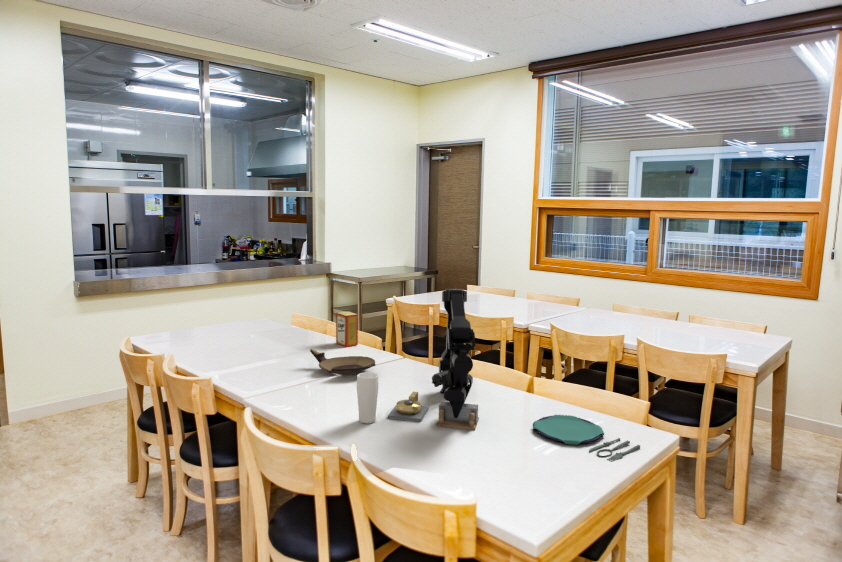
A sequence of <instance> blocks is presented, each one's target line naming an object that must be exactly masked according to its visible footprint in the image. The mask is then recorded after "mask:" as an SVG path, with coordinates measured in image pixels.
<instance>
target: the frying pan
mask: <svg viewBox="0 0 842 562" xmlns="http://www.w3.org/2000/svg"><path fill="white" fill-rule="evenodd" d="M309 351H310V353H311V354H312V356H313V357H314V358H315V359H316V360H317V362H318V363H319V364H318V367H319V368H320V369H321V370H324V371H325V372H328V373H331V374H334V375H340V376H349V375H350V376H351V375H354V374H355V375H356V374H360V373H362V372H364V371H366V370H368V369H370V368H372V367H375V366H376V365H377V364H376V360H375V359H373V358H372V357H370V356H369V357H368V356H360V355H352V356H351V355H349V356H338V357H331V358H326V357H325V352H322V351H321V352H318V351H317V350H315V349H313V348H310V349H309Z"/></svg>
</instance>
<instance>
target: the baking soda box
mask: <svg viewBox="0 0 842 562" xmlns="http://www.w3.org/2000/svg"><path fill="white" fill-rule="evenodd" d="M358 315H359V314H358V313H356V312H355V313H354V312H352V311H347V310H346V311H341V312H339V311H338V312H336V313H335V321H336V322H335V337H336V338H335V341H336V342H335V344H336V345H339V346H341V347H344V348H352V347H357V346H356V345H359V337H358V336H359V335H358V333H359V328H358V327H359V316H358Z"/></svg>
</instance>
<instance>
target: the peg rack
mask: <svg viewBox="0 0 842 562" xmlns="http://www.w3.org/2000/svg"><path fill="white" fill-rule="evenodd" d="M474 416H475V414H474V413H469V423H460V422H450V421H444V410H439V409H438V420H437V423H436V426H437V427H443V428H450V429H451V428H453V429H462V430H471V431H475V430H476V428H477V426H478V423H479V420H480V417H479V416H478V421H477V424H474Z"/></svg>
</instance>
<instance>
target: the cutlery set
mask: <svg viewBox="0 0 842 562" xmlns="http://www.w3.org/2000/svg"><path fill="white" fill-rule="evenodd" d="M532 430H533V431H535V430H536V431H537V432H538V434H540V435H542V436H544V437H545V438H548V439H551V440H554V441H558V442H562V443H564V444H565V445H573V446H578V445H579V444H586V443H590V442H595V441H597V440H598V439H600V438H601V436H602V437H603V436H605V433H604V430H603V428H602V427H601V426H600V425H597V424H596V423H594V422H592V421H589V420H586V419H583V418H581V417H577V416H576V415H570V414H569V415H566V414H554V415H548V416H543V417H541V418H539V419H537V420H535V421H533V423H532ZM617 441H621V438H620V437H618V438H616V439H614V440H611V441H605V442H603V444H599V445H596V446H594V447H591V448H590V449H588V453H591V452H595V451H597V452H596V455H597V456H599V457H601V454H600V453H603V452H609V454H606V455H605V457H608V458H607V459H606V460H607V461H609V462H615V461H617V460H621V459H623V457H624V456H625V455H628V454H630V453H633V452H634V451H637V450H639V449H640V448H641V445H640V444H637V445H635V446H632V447H631V448H630V449H628V450H626V451H622V452H621V451H620V452H616V453H615V454H613V451H615V450H617V449H619V448H620V447H623V446H626V445H629V444H630V443H631V441H629V440H625V441H624V442H621V443H619V444H618V445H616V446H614V447H612V448H611V449H610V448H604V447H608V446H611V444H613V443H614V442H617ZM601 448H603V449H601ZM612 454H613V455H612ZM611 455H612V456H611ZM609 456H610V457H609Z"/></svg>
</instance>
